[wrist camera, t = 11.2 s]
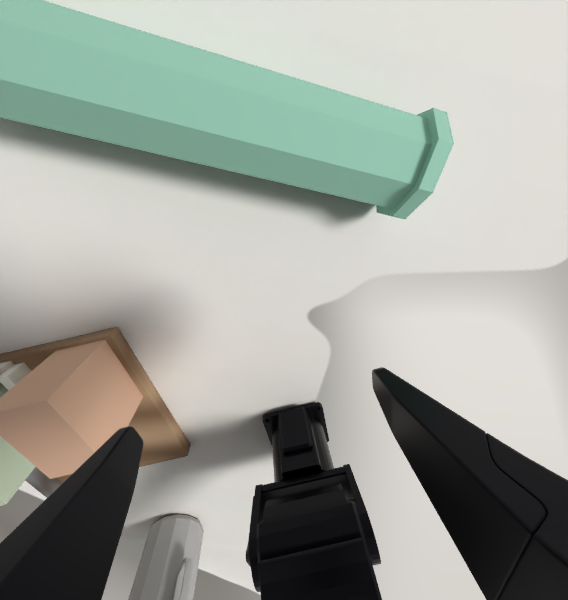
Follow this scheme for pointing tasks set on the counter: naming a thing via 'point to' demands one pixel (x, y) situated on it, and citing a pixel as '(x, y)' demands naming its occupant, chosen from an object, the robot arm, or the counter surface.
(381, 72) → the counter surface
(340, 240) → the counter surface
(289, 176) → the container
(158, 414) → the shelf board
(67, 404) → the rust box
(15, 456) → the tea box
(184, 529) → the water bottle
